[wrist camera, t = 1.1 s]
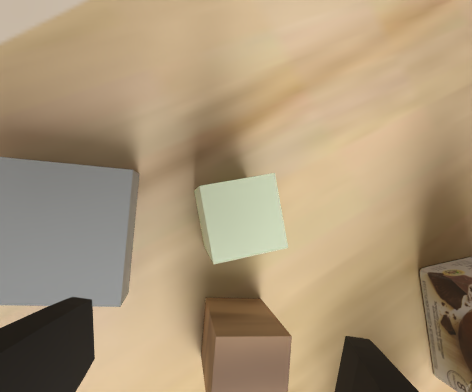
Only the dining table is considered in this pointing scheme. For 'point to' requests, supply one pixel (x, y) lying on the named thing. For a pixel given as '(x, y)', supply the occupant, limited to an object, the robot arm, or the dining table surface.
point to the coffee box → (450, 320)
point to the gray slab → (65, 232)
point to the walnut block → (244, 347)
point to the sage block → (241, 218)
